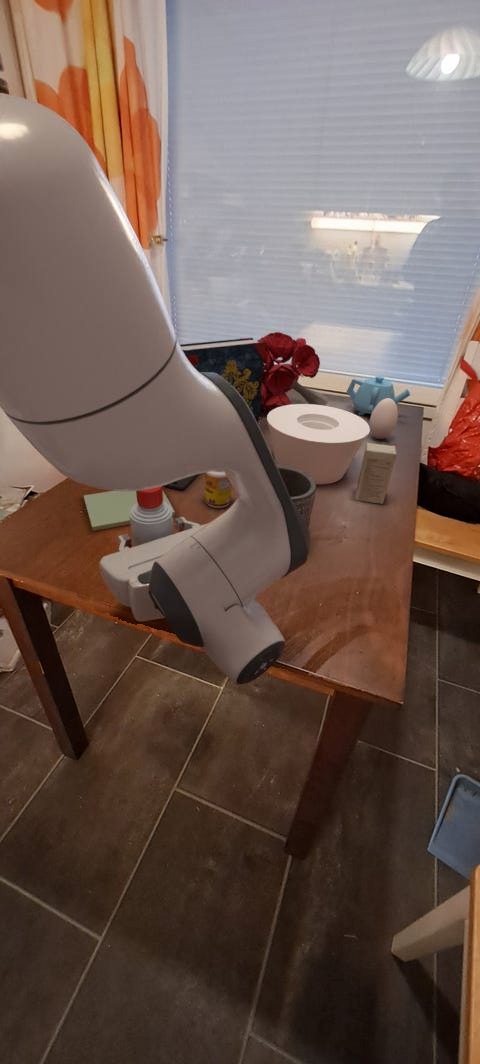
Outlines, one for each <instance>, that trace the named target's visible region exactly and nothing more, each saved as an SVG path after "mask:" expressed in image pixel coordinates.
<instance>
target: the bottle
mask: <svg viewBox="0 0 480 1064" xmlns="http://www.w3.org/2000/svg"><path fill="white" fill-rule="evenodd" d="M129 515H130V524H129V525H130V532H131V542H132V547H135V546H138V545H141V544H144V543H148V542H151V541H154V540H157V539H160V538H163V537H166V536H169V535H173V534H174V518H173V517H174V516H173V514H172V508H171V507H170V506H169V505H168V504H167V503H166V502H163V503H162V505H161V506H159V507H157V508H153V509H145V508H142V507H140V506H139V505H138V503H136V504H135V505H134V506H133V507H132V508H131V510H130V513H129Z"/></svg>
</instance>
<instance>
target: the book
mask: <svg viewBox="0 0 480 1064" xmlns="http://www.w3.org/2000/svg"><path fill="white" fill-rule="evenodd" d="M257 341H258V340H254V338H253V337H246V338H235V339H224V340H213V341H203V342H192V343H191V342H190V343H184V344H183V343H180V346H181V348H182V350H183V352H184V354H185V356H186V357H187V359H188V360H189V362H190V363H191V364H192V366H193V367H194V368H195V369H196V370H197V371H198V372H214V373H216V374H218V375H220V376H221V377H223V378H224V379H225V380H227V381H228V382H229V383H230V384H231V385H232V386H233V387H234V388H235V389H236V390H237V391H238V393H239V394H240V395H241V396H242V398H243V399H244V400H245V402H246V403H247V405H248V406H249V408H250V410H251V411H252V413H253V415H254V417H255V419H256V421H257V423H258V425H259V424H260V411H261V405H260V400H261V389H262V377H263V365H264V356H265V348H266V344H265V342H257Z"/></svg>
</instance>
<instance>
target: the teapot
mask: <svg viewBox="0 0 480 1064" xmlns="http://www.w3.org/2000/svg"><path fill="white" fill-rule="evenodd" d="M356 385H358V386H359V387H358V389H357V390H356V391H355V387H356ZM394 388H395V387H394V384H393V383H392V381H390V380H386V379H385V378H384V376H382V375H376V376H375V378H372V377H369V378H366V379H365V380H361V379H358V378H355V377H353V378H352V380H351V381H350V383H349V385H348V387H347V390H346V394H347V395H348V396H349V398H350V399H351V400H352V404H353V407H354V409H355V410H356V411H358V412H357V414H358V416H359V415H360V416H365V415H366V414H368V415H372V412H373V410H374V409H375V407H376V406H377V405H378V403H379V402H380V401H382V400H384V399H386V398H390V399H392V400H393V401H394V402H395V404H396V405H398V404H399V403H401V402H402V401H404V400H405V399H407V398H408V397H410V396H411V392H410V391H409V389H405V390H403V391H402V392H400V393H399V394H397V396H396V395H395V389H394Z"/></svg>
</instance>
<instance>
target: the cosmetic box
mask: <svg viewBox="0 0 480 1064" xmlns="http://www.w3.org/2000/svg"><path fill="white" fill-rule="evenodd" d="M396 458H397V448H396V445H390V444H380V443H373V442H366V444H365V448H364V453H363V457H362V461H361V467H360V471H359V475H358V479H357V484H356V488H355V496H354V499H355V500H356V501H360V502H367V503H373V504H381V505H382V504H383V505H384V502H385V498H386V495H387V490H388V487H389V484H390V480H391V476H392V472H393V469H394V465H395V461H396Z"/></svg>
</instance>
